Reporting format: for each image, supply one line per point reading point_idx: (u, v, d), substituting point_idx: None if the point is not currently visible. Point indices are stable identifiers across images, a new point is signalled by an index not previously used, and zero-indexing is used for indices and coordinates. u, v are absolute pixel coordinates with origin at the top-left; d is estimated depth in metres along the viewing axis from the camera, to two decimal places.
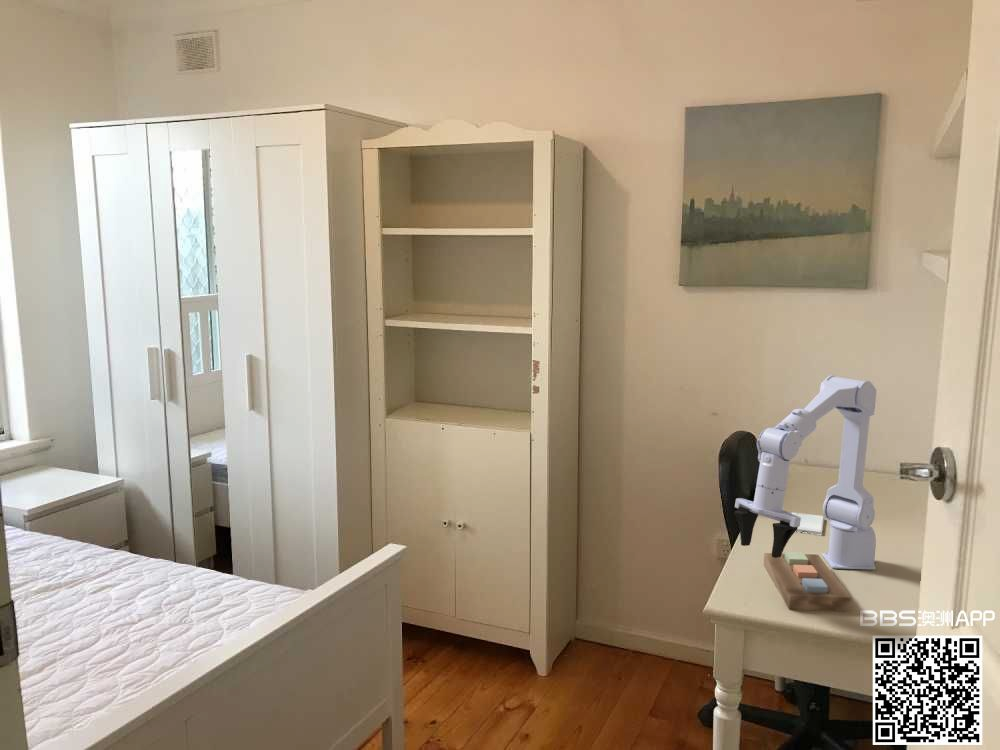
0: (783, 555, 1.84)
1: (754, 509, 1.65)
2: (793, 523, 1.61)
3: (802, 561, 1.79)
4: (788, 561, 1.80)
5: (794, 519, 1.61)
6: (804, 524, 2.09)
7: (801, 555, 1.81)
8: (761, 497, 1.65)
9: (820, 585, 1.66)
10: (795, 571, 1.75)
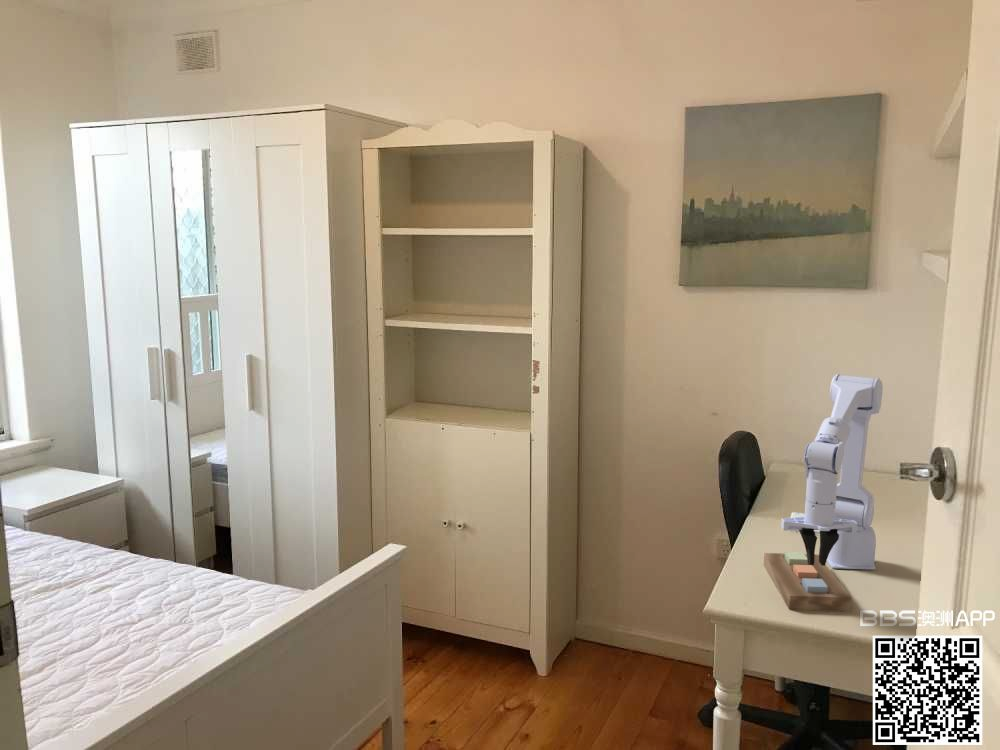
0: (783, 555, 1.84)
1: (824, 529, 1.61)
2: (856, 529, 1.64)
3: (802, 561, 1.79)
4: (788, 561, 1.80)
5: (856, 525, 1.64)
6: None
7: (801, 555, 1.81)
8: (824, 515, 1.62)
9: (820, 585, 1.66)
10: (795, 571, 1.75)
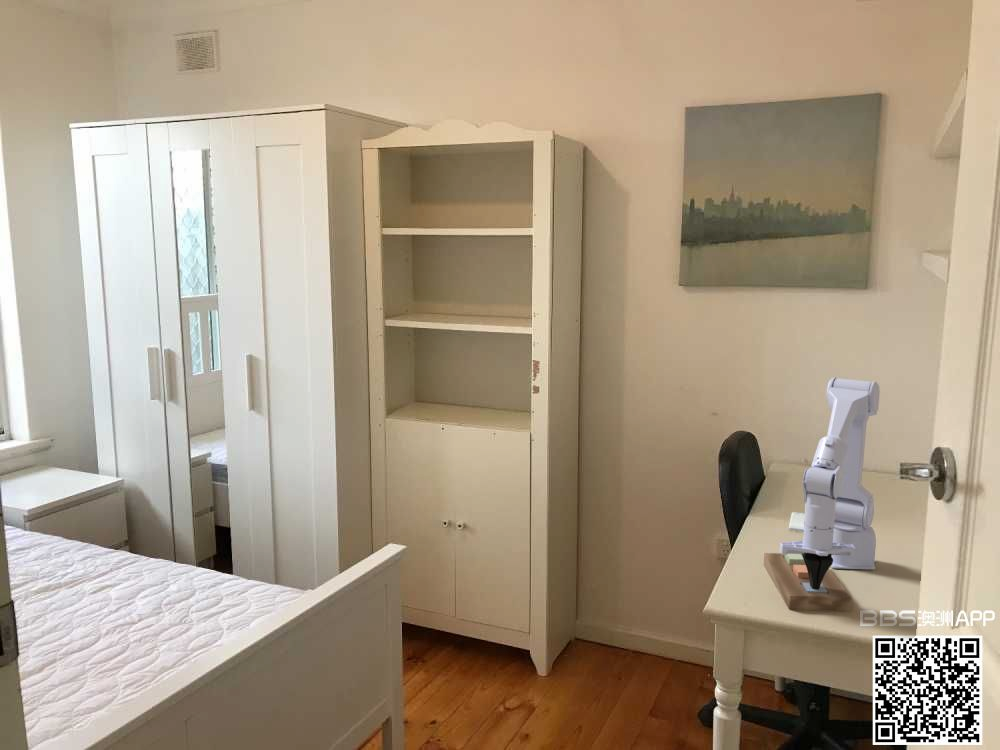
0: (783, 555, 1.84)
1: (822, 554, 1.62)
2: (854, 553, 1.65)
3: (802, 561, 1.79)
4: (788, 561, 1.80)
5: (854, 549, 1.64)
6: None
7: (801, 555, 1.81)
8: (822, 540, 1.63)
9: (820, 590, 1.66)
10: (795, 571, 1.75)
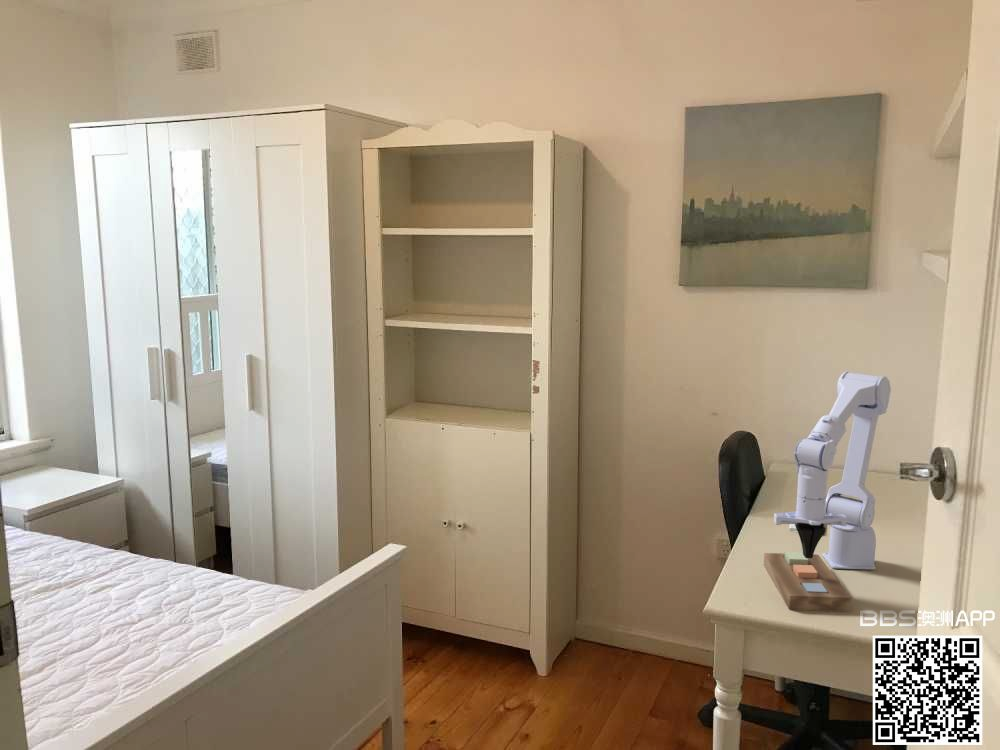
0: (783, 555, 1.84)
1: (815, 523, 1.68)
2: (845, 523, 1.70)
3: (802, 561, 1.79)
4: (788, 561, 1.80)
5: (846, 519, 1.70)
6: None
7: (801, 555, 1.81)
8: (815, 510, 1.68)
9: (820, 590, 1.66)
10: (795, 571, 1.75)
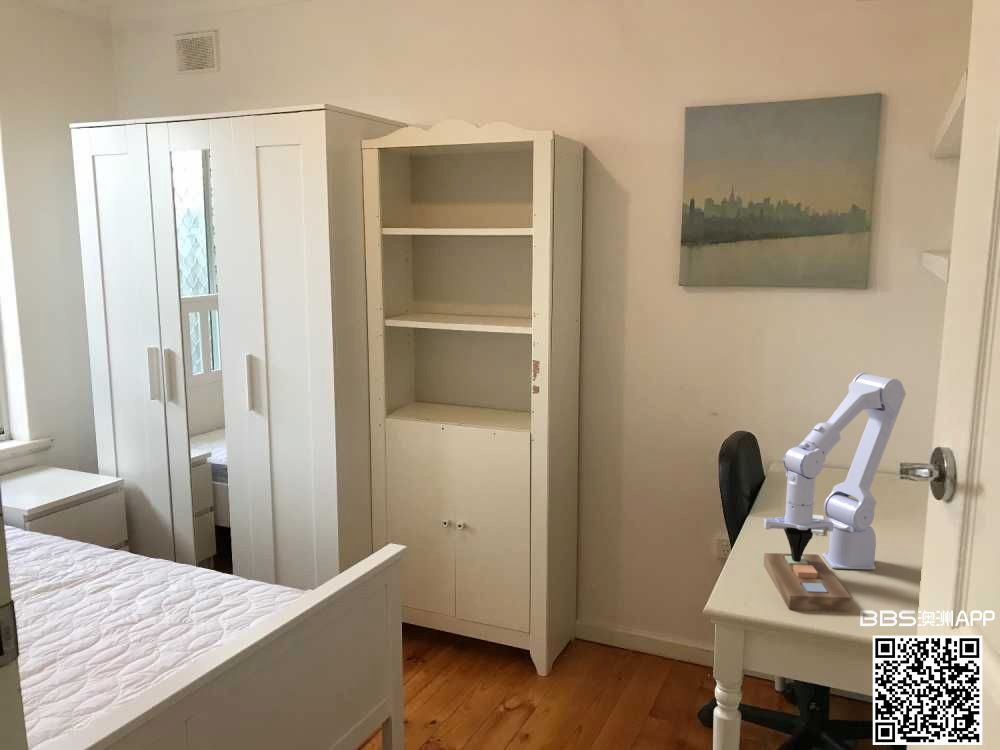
0: (783, 555, 1.84)
1: (802, 528, 1.76)
2: (832, 528, 1.78)
3: None
4: None
5: (832, 524, 1.78)
6: None
7: (801, 559, 1.81)
8: (803, 515, 1.76)
9: (820, 590, 1.66)
10: (795, 571, 1.75)
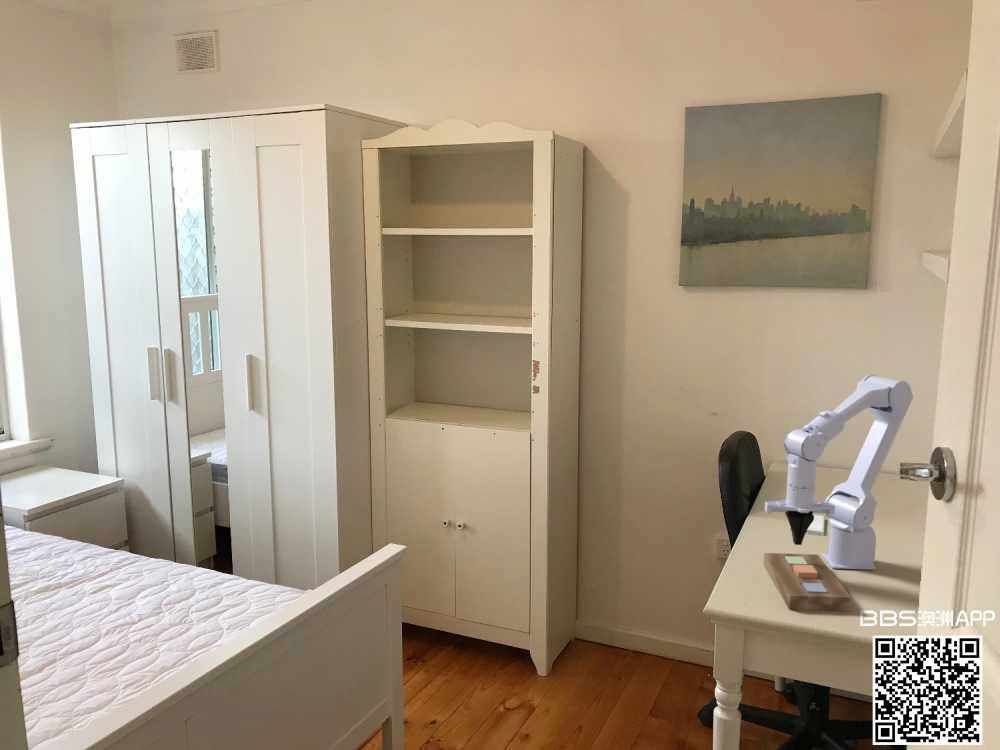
0: (783, 555, 1.84)
1: (803, 511, 1.75)
2: (833, 511, 1.78)
3: None
4: None
5: (834, 507, 1.77)
6: None
7: (801, 559, 1.81)
8: (804, 498, 1.76)
9: (820, 590, 1.66)
10: (795, 571, 1.75)
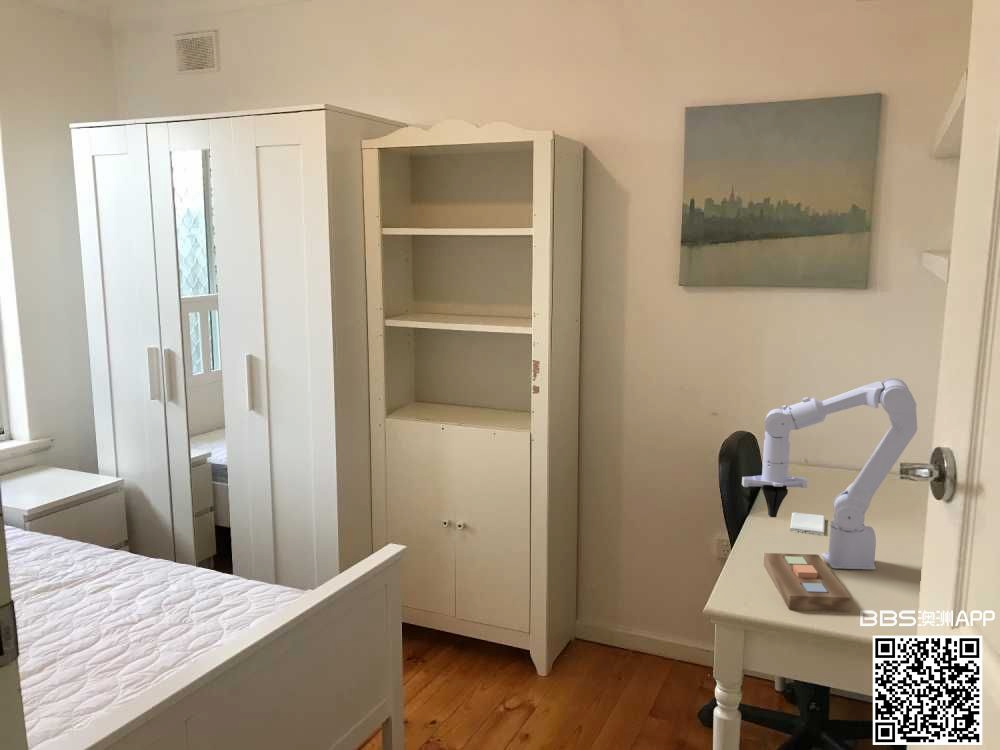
0: (783, 555, 1.84)
1: (778, 484, 1.86)
2: (806, 485, 1.89)
3: None
4: None
5: (806, 481, 1.89)
6: (806, 524, 2.09)
7: (801, 559, 1.81)
8: (778, 473, 1.87)
9: (820, 590, 1.66)
10: (795, 571, 1.75)
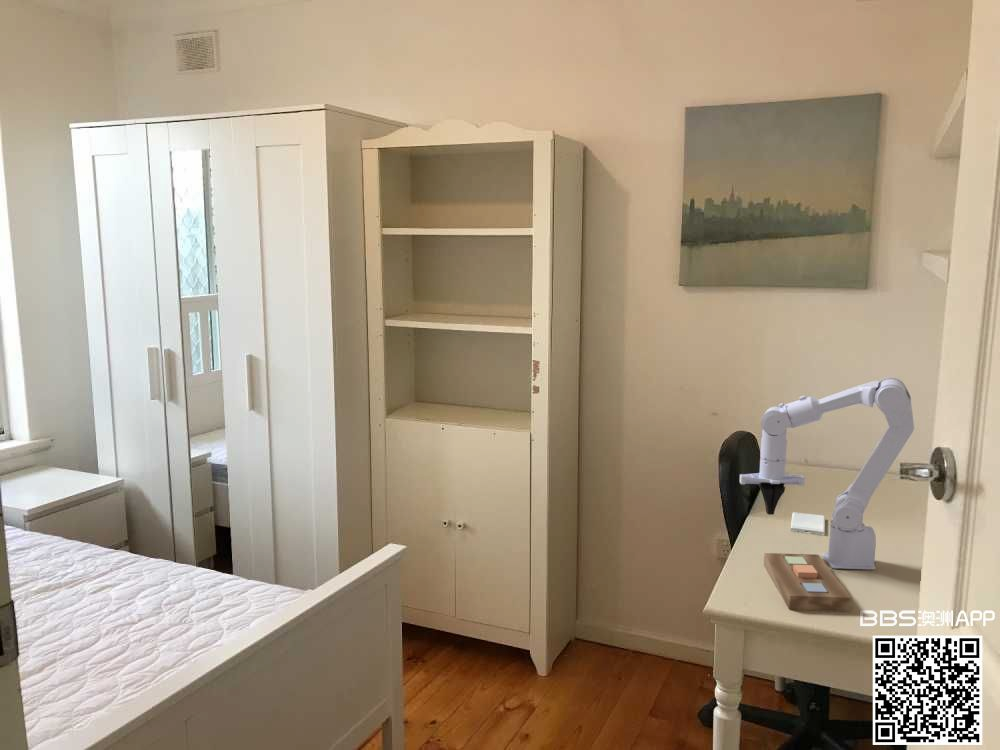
0: (783, 555, 1.84)
1: (775, 482, 1.88)
2: (803, 483, 1.90)
3: None
4: None
5: (803, 479, 1.90)
6: (806, 524, 2.09)
7: (801, 559, 1.81)
8: (775, 470, 1.88)
9: (820, 590, 1.66)
10: (795, 571, 1.75)
